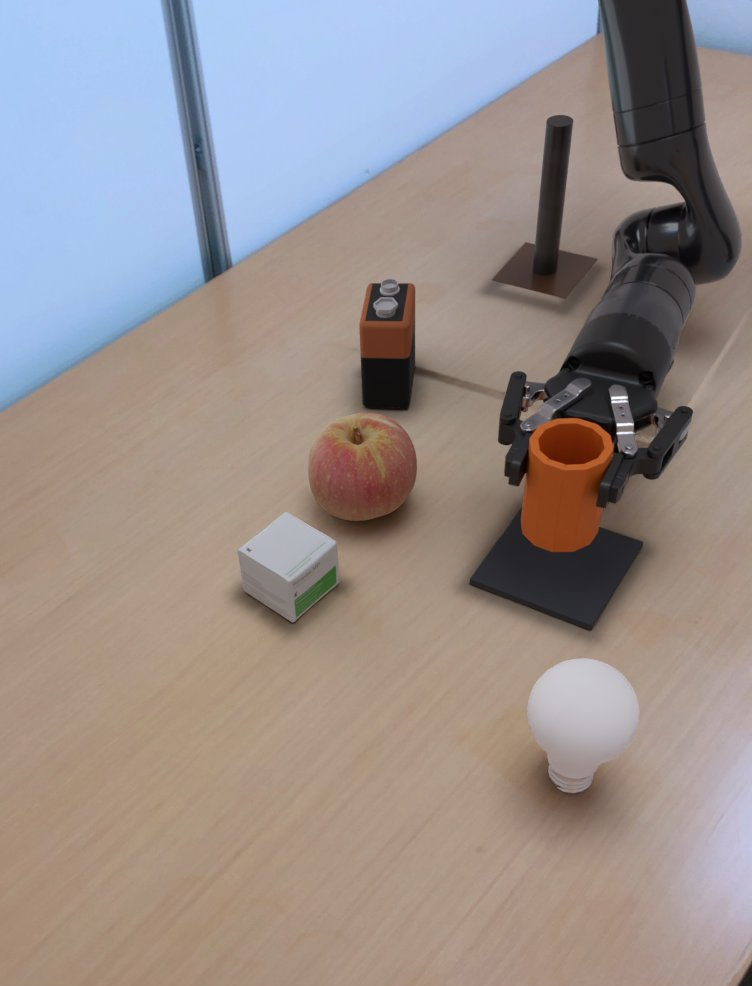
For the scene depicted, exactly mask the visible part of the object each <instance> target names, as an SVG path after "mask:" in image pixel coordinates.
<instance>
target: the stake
mask: <svg viewBox="0 0 752 986" xmlns="http://www.w3.org/2000/svg"><path fill="white" fill-rule="evenodd" d="M573 128H574V118H572V117H571V116H569V115H565V114H556V115H555V114H554V115H552V116H549V117H548V118H547V119H546V122H545V132H544V141H543V142H544V143H543V154H542V163H541V164H542V165H541V175H540V187H539V188H540V189H539V195H538V197H539V198H538V199H539V200H538V208H537V218H536V229H535V230H536V231H535V238H534V239H535V241H534V243H531V242H527V241H525V242H524V243H523V245H521V247H520V248H519V249H518V250H517V251H516V252H515V253H514V254H513V255H512V256H511V257H510V258H509V260H508V261H507V262H506V263H505V264H504V265H503V266H502V268H501V269H500V270H499V271H498V272H497V273H496V274H495V275H494V276H493V278H492V279H491V281H493V282H496V283H499V284H500V283H501V284H503V285H504V284H506V285H508V286H513V287H516V288H520V289H524V290H529V291H532V292H537V293H540V294H544V295H548V296H552V297H556V298H561V299H565V300H566V299H567V297H568V296H570V294H571V293H572V291H573V290H574V289H575V288H576V287H577V285H578V284H579V283H580V282H581V281H582V279H583V278H584V277H585V276H586V275H587V273H588V272H589V271H590V270H591V268H592V267H593V266H594V265H595V264H596V262H597V261H598V260H599V259H598V258H597V257H592V256H588V255H583V254H578V253H574V252H571V251H566V250H562V249H560V245H561V236H562V227H563V220H564V219H563V218H564V210H565V200H566V193H567V183H568V173H569V163H570V157H571V156H570V155H571V147H572V138H573Z"/></svg>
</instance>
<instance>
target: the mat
mask: <svg viewBox="0 0 752 986" xmlns="http://www.w3.org/2000/svg"><path fill="white" fill-rule="evenodd" d="M521 513H522V507H521V508H520V509H519V510H518V512H517V513H516V515H515V516H514V517H513V519H512V520H511V521H510V523H509V524H508V525H507V527H506V528H505V530H504V531H503V532H502V534H501V535H500V536H499V538H498V539H497V540H496V542H495V543H494V545H493V546H492V547H491V549H490V550H489V552H488V553H487V554H486V556H485V557H484V559H483V560H482V561H481V563H480V564H479V566H478V567H477V568H476V570H475V571H474V573H473V574H472V575H471V577H470V578H469V585H471V586H474V587H476V588H479V589H482V590H484V591H487V592H489V593H492V594H494V595H497V596H500V597H502V598H505V599H508V600H509V601H510V600H511V601H513V602H516V603H517V604H521V605H523V606H526V607H528V608H532V609H534V610H537V611H539V612H542V613H545V614H547V615H550V616H552V617H555V618H557V619H559V620H562V621H564V622H568V623H571V624H573V625H575V626H578V627H581V628H583V629H586V630H589V631H592V629H593V628H594V626H595V625H596V623H597V622H598V621H599V618H600V617H601V615H602V613H603V612H604V610H605V609H606V607H607V605H608V604H609V602H610V600H611V598H612V597H613V595H614V594H615V592H616V591H617V590H618V587H619V586H620V584H621V583H622V581H623V579H624V577H625V576H626V574H627V573H628V571H629V569H630V568H631V566H632V564H633V563H634V561H635V559H637V557H638V555H639V553H640V552H641V550H642V548H643V545H644V541H643V540H639V539H636V538H634V537H630V536H628V535H624V534H621V533H619V532H616V531H612V530H610V529H607V528H604V527H601V526H599V530H598V533H597V535H596V536H595V538H594V539H593V541H592V542H591V544H589V545H587V546H585V547H583V548H581V549H578V550H576V551H573V552H551V551H548V550H545V549H542V548H540V547H537V546H534V545H533V544H532V543H531V542H530V541H529V540H528V539H527V538H526V537H525V536H524V535H523V533H522V527H521Z"/></svg>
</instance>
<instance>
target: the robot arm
mask: <svg viewBox="0 0 752 986" xmlns="http://www.w3.org/2000/svg"><path fill="white" fill-rule="evenodd" d="M597 3H598V9H599V16H600V22H601V24H600V25H601V30H602V31H601V32H602V37H603V38H602V39H603V45H604V54H605V55H604V56H605V63H606V71H607V79H608V87H609V95H610V103H611V111H612V118H613V125H614V133H615V140H616V145H617V153H618V161H619V165H620V169H621V173H622V174H623V176H624V177H625V178H626V179H627V180H629V181H631V182H637V183H662V184H666V185H670V186H671V187H673V188H674V189H675V190H676V191H677V192H678V193H679V195H680V196H681V198H683V200H684V201H679V202H676V203H670V204H665V205H661V206H657V207H656V206H655V207H650V208H645V209H641V210H638V211H635V212H633V213H631V214H629V215H628V216H626V217H625V218H624V219H623V220H621V222H619V224H618V225H617V226H616V228H615V229H614V232H613V234H612V238H611V251H610V252H611V271H610V276H609V277H610V278H609V283H608V285H607V286H606V288H605V290H604V291H603V294H602V296H601V297H600V300H599V302H598V303H597V304H596V305H595V306H594V307H593V308H592V310H591V312H590V313H589V315H587V318H586V319H585V321H584V323H583V325H582V327H581V328H580V331H579V333H578V334H577V336H576V338H575V340H574V342H573V344H572V346H571V347H570V349H569V351H568V353H567V355H566V357H565V359H564V360H563V363H562V364H561V366H560V369H559V370H558V373H557V374H555V375H554V376H552V377H550V378H549V379H548V380H546V381H545V382H537V381H536V382H535V381H528V380H527V377H528V376H527V374H526V372H524V371H520V370H517V371H513V372H512V373H511V374H510V376H509V380H508V383H507V387H506V390H505V394H504V398H503V401H502V405H501V408H500V411H499V421H498V432H497V443H498V444H500V445H502V446H510V447H509V448H508V451H507V452H506V455H505V456H504V467H503V468H504V469H503V475H504V477H506V478H508V483H507V484H508V485H510V486H513V487H517V488H519V486H520V485H521V483H522V482H523V479H524V477H525V476H526V468H527V459H528V450H529V439H530V437H531V436H532V434H533V433H534V432H535V430H536V429H537V428H538V426H540V425H543V424H545V423H547V422H550V421H552V420H555V419H564V418H577V419H578V418H579V419H582V420H585V421H589V422H592V423H595V424H598V425H599V426H600V427H601V428H602V429H604V430H605V431H606V432H607V433H608V434H609V435H610V436H611V440H612V445H613V454H612V459H611V461H610V463H609V465H608V468H607V470H606V472H605V474H604V477H603V479H602V481H601V484H600V487H599V491H598V496H597V502H596V506H597V507H601V508H603V509H607V508H608V505H609V503H611V504H617V503H618V502H619V501H620V500H621V499H622V497H623V494H624V491H625V489H626V487H627V485H628V482H629V480H630V479H631V478H632V477H633V476H636V475H642V477H643V478H645V479H646V480H650V481H655V480H657V479H659V478H660V477H661V475H662V474H663V473H664V471H665V470H666V468H667V467H668V465H669V464H670V463H671V462H672V460H673V459H674V457H675V456H676V455H677V453H678V452H679V451H680V449H681V448H682V447H683V445H684V443H685V442H686V440H687V439H688V435H689V431H690V427H691V423H692V418H693V414H694V409H693V408H692V407H690V406H687V405H680V406H678V407H676V408H675V409H674V411H672V410H668V409H665V408H662V407H659V404H658V401H657V399H658V396H659V393H660V391H661V389H662V387H663V384H664V382H665V380H666V378H667V376H668V374H669V373H670V371H671V369H672V367H673V365H674V364H675V363H674V362H675V357H676V355H677V352H678V348H679V346H680V340H681V335H682V332H683V331H684V328H685V326H686V324H687V321H688V319H689V317H690V314H691V312H692V310H693V308H694V304H695V302H696V301H695V300H696V296H697V286H702V285H708V284H713V283H716V282H717V283H718V282H720V281H722V280H724V279H725V278H727V277H728V276H729V275H730V274H731V273H732V271H733V270H734V268H735V267H736V265H737V264H738V262H739V258H740V256H741V253H742V242H743V241H742V240H743V239H742V229H741V225H740V222H739V219H738V216H737V213H736V211H735V208H734V206H733V204H732V202H731V199H730V197H729V194H728V192H727V189H726V188H725V185H724V183H723V180H722V179H721V176H720V174H719V171H718V168H717V166H716V161H715V158H714V156H713V155H714V154H713V152H712V148H711V146H710V141H709V136H708V129H707V122H706V112H705V103H704V102H705V101H704V94H703V83H702V75H701V69H700V62H699V61H700V60H699V56H698V55H699V53H698V50H697V49H698V48H697V43H696V37H695V33H694V27H693V24H692V20H691V19H692V18H691V14H690V10H689V5H688V1H687V0H597ZM537 401H542V403H541V405H540V407H539V409H538V411H536V412H535V413H533V414H532V415H530V416H529V417H527V418H526V419H524V420H522V419H521V416H522V413H527V412H529V408H530V407H531V408H532V406H533V405H534V403H536V402H537ZM652 425H653V426H654V427H655V429H656V430H655V435H656V436H654V438H653V439H652V440H651V442H650V443H649V444H648V447H639V446H638V442H637V439H636V435H635V434H636V433H638V432H640V431H643V430H645V429H647V428H650V427H651V426H652Z"/></svg>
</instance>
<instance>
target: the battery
mask: <svg viewBox="0 0 752 986" xmlns="http://www.w3.org/2000/svg"><path fill="white" fill-rule="evenodd" d="M360 314H361V315H360V319H359V325H358V326H359V327H358V328H359V329H358V330H359V349H360V352H359V353H360V375H361V396H362V397H361V399H362V405H363V407H365V408H367V409H368V408H369V409H404V410H405V409H407V408H409V407H410V404H411V399H412V390H413V386H414V385H413V384H414V377H415V369H416V286H415V284H413V282H412V283H410V282H399V281H398V280H397V279H395V278H386V279H383V280H382V281H381V282H370V283H369V284H368V285H367V287H366V290H365V295H364V300H363V304H362V310H361V313H360Z"/></svg>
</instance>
